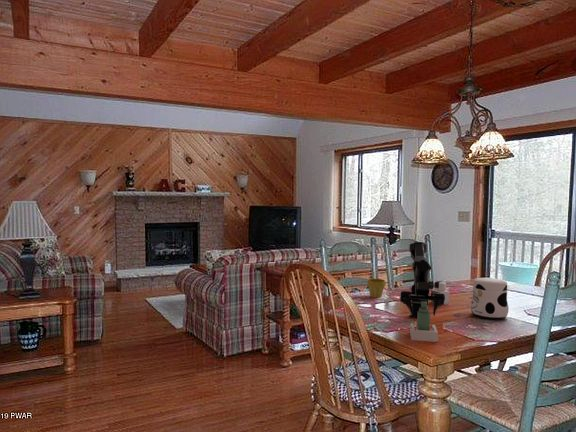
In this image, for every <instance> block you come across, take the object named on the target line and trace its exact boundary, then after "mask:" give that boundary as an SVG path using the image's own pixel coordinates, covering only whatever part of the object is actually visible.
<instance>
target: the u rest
mask: <svg viewBox="0 0 576 432" xmlns="http://www.w3.org/2000/svg"><path fill="white" fill-rule="evenodd" d="M409 334H410V339H411V341H419V342H421V341H422V342H430V343H431V342H432V343H433V342H434V343H439V342H438V339H439V336H438V335H439V332H438V330H437V326H436V325H435V324H432V325H431V330H430V331H426V330H417V329H415V327H414V323H412V322H411V323H409Z"/></svg>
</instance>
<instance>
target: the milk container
mask: <svg viewBox="0 0 576 432" xmlns="http://www.w3.org/2000/svg"><path fill="white" fill-rule="evenodd" d="M509 309H510V308H509V304H508V282H507V281H506V280H503V279H499V278H493V277H491V278H490V277H477V278H474V279H473V283H472V298H471V301H470V311H471V313H472V314H473V315H475V316H476V317H480V318H484V319H488V320H502V319H504V318H506V317H507V316H508V314H509Z"/></svg>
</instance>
